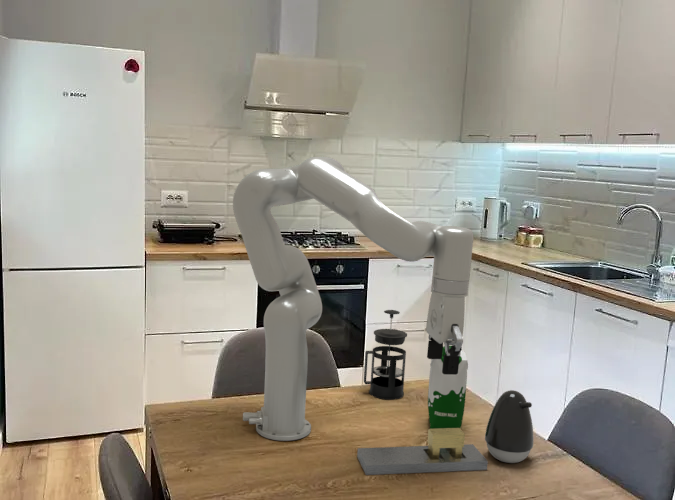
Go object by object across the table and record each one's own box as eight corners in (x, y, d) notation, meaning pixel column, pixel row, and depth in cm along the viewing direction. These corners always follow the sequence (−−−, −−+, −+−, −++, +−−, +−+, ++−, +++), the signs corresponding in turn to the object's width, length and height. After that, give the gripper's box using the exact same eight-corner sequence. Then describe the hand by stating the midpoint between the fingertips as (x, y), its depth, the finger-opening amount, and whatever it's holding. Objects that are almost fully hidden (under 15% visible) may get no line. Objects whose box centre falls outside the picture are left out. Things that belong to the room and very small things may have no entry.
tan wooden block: (430, 466, 141) (433, 434, 140) (425, 459, 144) (428, 428, 143) (462, 465, 142) (464, 433, 141) (456, 458, 145) (459, 427, 144)
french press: (400, 387, 188) (406, 306, 185) (410, 399, 179) (416, 315, 176) (359, 387, 186) (364, 306, 183) (367, 400, 177) (372, 314, 173)
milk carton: (426, 431, 159) (432, 349, 156) (425, 416, 168) (431, 338, 165) (464, 434, 158) (471, 352, 155) (461, 419, 167) (467, 341, 164)
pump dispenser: (505, 472, 140) (512, 402, 138) (473, 451, 149) (479, 385, 147) (542, 464, 145) (549, 396, 143) (509, 444, 154) (515, 380, 152)
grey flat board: (365, 475, 136) (366, 465, 135) (357, 457, 143) (357, 448, 143) (486, 469, 141) (487, 460, 140) (472, 452, 149) (472, 444, 148)
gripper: (419, 277, 147) (412, 353, 149) (446, 295, 130) (438, 380, 132) (452, 278, 148) (444, 353, 151) (483, 296, 131) (474, 380, 134)
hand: (441, 366), depth 142 cm, fingers open, 9 cm apart
